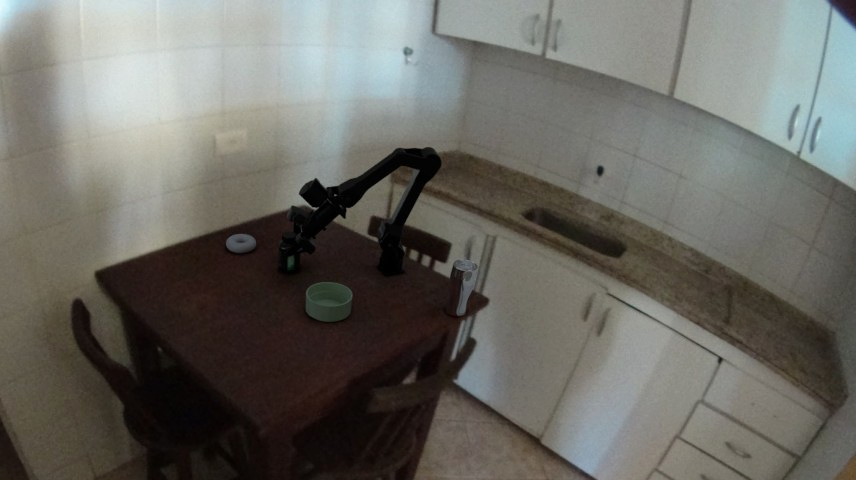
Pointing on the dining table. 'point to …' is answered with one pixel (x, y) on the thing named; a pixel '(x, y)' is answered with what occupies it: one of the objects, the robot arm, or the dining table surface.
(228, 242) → the donut
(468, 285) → the beer glass
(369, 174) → the robot arm
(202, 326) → the dining table surface
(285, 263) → the supplement bottle
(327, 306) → the green round bowl
